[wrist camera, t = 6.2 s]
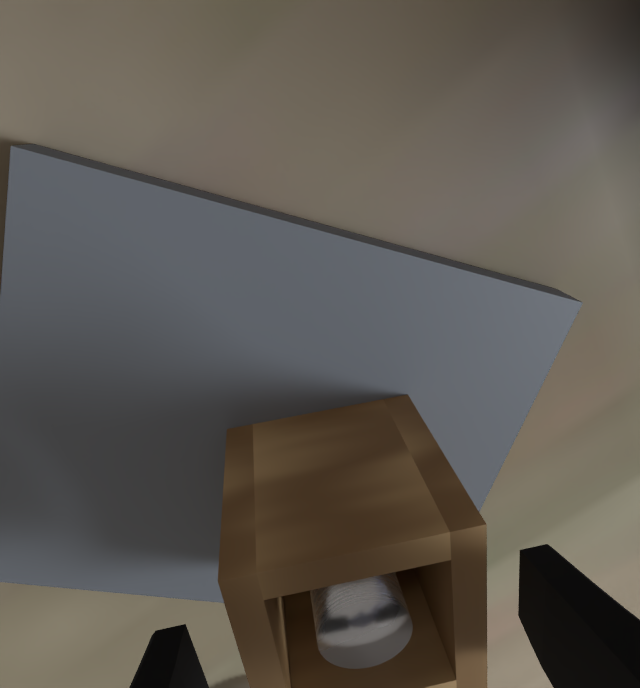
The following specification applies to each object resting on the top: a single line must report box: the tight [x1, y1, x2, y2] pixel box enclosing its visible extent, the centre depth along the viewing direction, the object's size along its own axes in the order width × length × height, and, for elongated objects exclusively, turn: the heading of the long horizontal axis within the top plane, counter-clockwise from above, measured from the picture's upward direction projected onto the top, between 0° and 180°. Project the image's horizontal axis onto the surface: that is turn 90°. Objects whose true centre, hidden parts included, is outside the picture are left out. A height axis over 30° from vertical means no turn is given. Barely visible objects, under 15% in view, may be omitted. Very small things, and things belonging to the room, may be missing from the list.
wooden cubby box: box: [218, 395, 487, 688], centre depth 13 cm, size 5×5×5 cm
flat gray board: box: [0, 144, 582, 603], centre depth 15 cm, size 14×12×1 cm
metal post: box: [310, 572, 413, 669], centre depth 13 cm, size 2×2×6 cm
